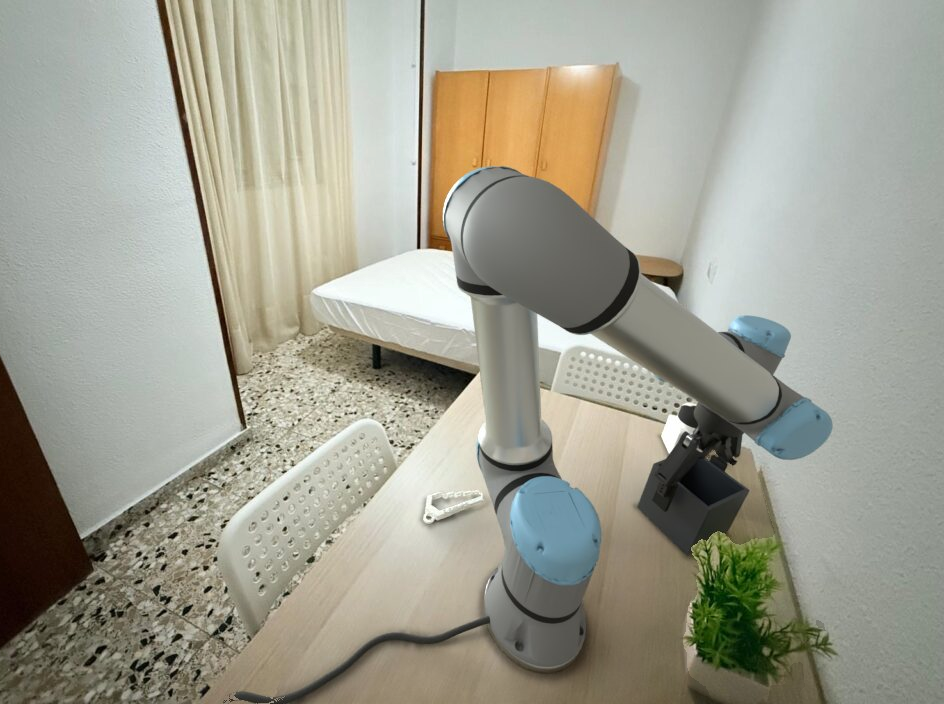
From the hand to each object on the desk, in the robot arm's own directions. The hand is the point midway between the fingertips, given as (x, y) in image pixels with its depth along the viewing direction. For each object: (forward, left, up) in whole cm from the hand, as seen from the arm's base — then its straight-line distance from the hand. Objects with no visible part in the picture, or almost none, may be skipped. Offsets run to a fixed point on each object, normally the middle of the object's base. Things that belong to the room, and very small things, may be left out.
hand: (684, 494), depth 77 cm
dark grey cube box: (+2, -6, 0) cm, 6 cm away
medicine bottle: (+16, +16, -7) cm, 24 cm away
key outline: (-43, +12, -7) cm, 45 cm away
